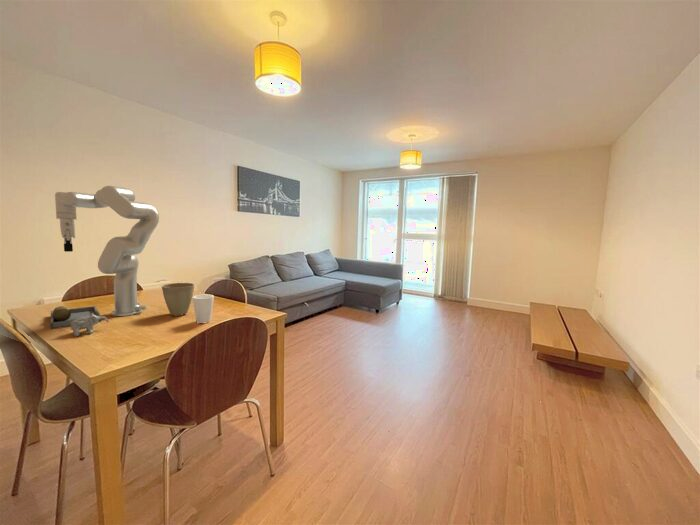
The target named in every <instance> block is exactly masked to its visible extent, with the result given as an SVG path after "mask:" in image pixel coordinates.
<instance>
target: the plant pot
mask: <svg viewBox="0 0 700 525" xmlns="http://www.w3.org/2000/svg"><path fill="white" fill-rule="evenodd" d="M161 289H162V294H163V298H164V302H165V304H166V307H167V309H168V312H169V314H170V316H172V315H182V314H185V315H187V314H188V311H189V309H190V306H191V304H192V301H193V296H194V290H195V284H194V283H192V282H174V283H166V284H163V285H161ZM186 313H187V314H186ZM182 316H183V315H182Z"/></svg>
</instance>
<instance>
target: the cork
mask: <svg viewBox="0 0 700 525" xmlns="http://www.w3.org/2000/svg"><path fill="white" fill-rule="evenodd" d="M68 309H69V308H67V307H66V306H63V305H59V306H57V307H55V308H53V310H52V311H53V319H54V320H56V321H59V322H61V321H66V320H67V319H69V318H70V316H71V313H70V311H69V310H68Z"/></svg>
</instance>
